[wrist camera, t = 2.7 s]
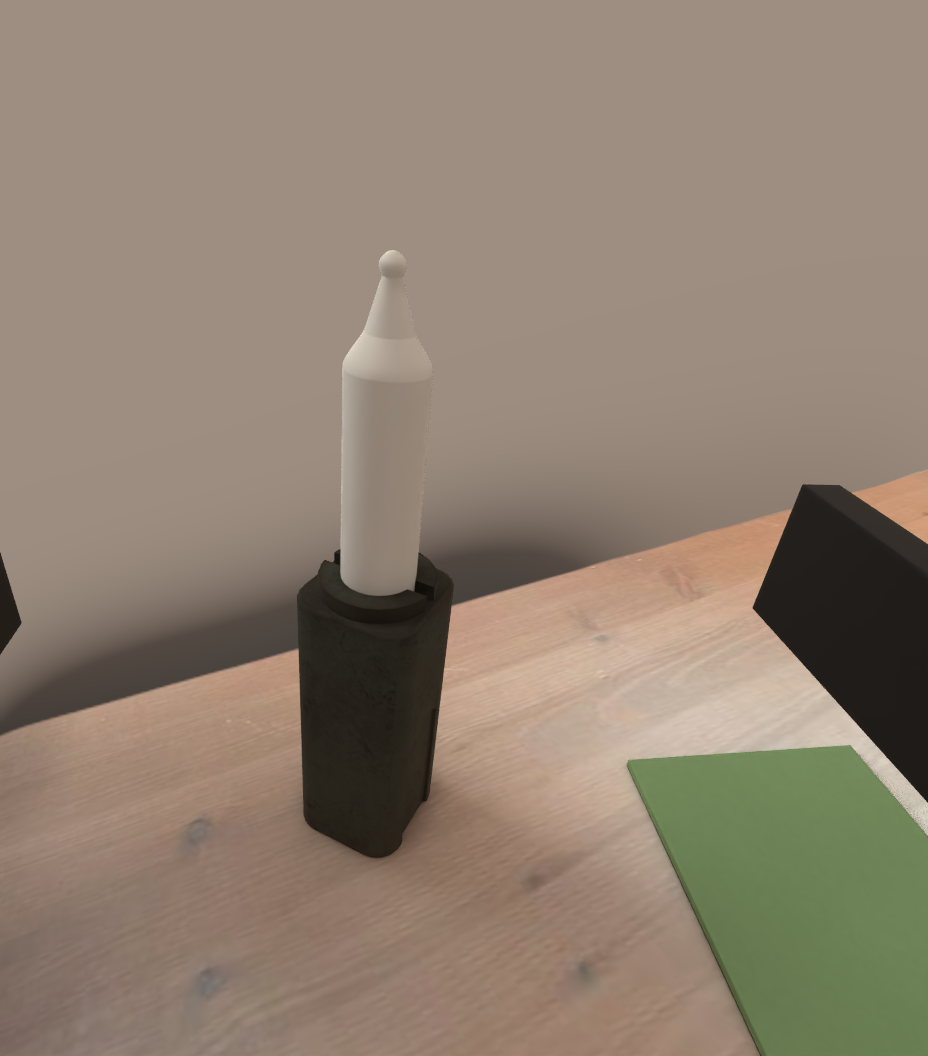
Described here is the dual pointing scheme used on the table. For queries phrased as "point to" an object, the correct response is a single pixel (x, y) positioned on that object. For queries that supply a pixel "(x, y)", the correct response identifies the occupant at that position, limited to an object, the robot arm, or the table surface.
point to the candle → (375, 599)
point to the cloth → (802, 894)
